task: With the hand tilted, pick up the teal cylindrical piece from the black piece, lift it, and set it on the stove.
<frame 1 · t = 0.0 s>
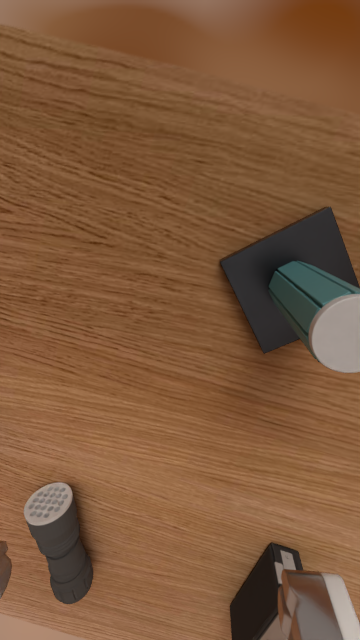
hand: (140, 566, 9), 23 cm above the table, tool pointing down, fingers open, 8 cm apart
black piece: (291, 283, 29), on the table
teal cylindrical piece: (294, 286, 28), point 1 cm above the table, touching black piece
flashlight: (71, 522, 42), on the table
camera: (274, 581, 42), on the table
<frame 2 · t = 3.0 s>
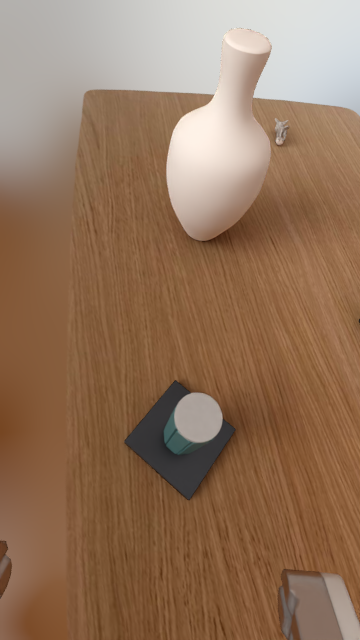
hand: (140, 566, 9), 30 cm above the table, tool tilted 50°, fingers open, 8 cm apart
black piece: (180, 436, 39), on the table
teal cylindrical piece: (181, 435, 38), point 1 cm above the table, touching black piece
dog figurine: (277, 141, 74), on the table
vase: (199, 232, 57), on the table
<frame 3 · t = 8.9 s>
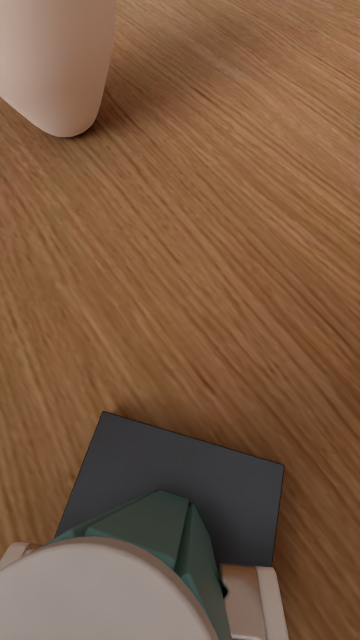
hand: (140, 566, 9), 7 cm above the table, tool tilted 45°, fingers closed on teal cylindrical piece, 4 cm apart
black piece: (163, 541, 15), on the table
teal cylindrical piece: (160, 546, 14), point 1 cm above the table, touching gripper, black piece
vase: (71, 127, 31), on the table
when the fingers open (8 cm above the table, at t = 21.9 s): teal cylindrical piece stays where it is, resting on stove.
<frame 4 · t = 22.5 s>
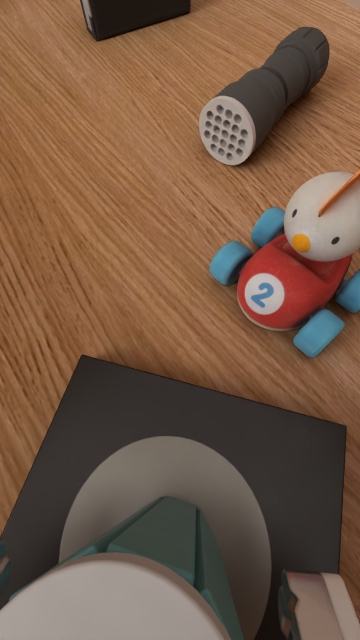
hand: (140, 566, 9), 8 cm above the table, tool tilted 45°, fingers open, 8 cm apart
teal cylindrical piece: (168, 552, 15), point 2 cm above the table, touching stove
flashlight: (262, 124, 31), on the table
toy car: (286, 289, 23), on the table
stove: (167, 540, 16), on the table
camera: (134, 18, 43), on the table
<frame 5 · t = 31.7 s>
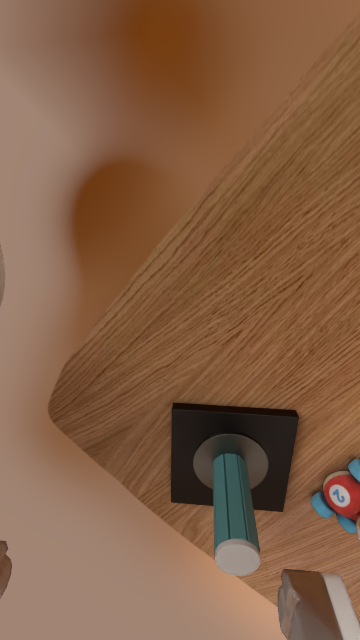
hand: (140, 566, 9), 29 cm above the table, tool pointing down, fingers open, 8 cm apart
teal cylindrical piece: (229, 466, 42), point 2 cm above the table, touching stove
toy car: (349, 485, 43), on the table
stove: (229, 455, 43), on the table
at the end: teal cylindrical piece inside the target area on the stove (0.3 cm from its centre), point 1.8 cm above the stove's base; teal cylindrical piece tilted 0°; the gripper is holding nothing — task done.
